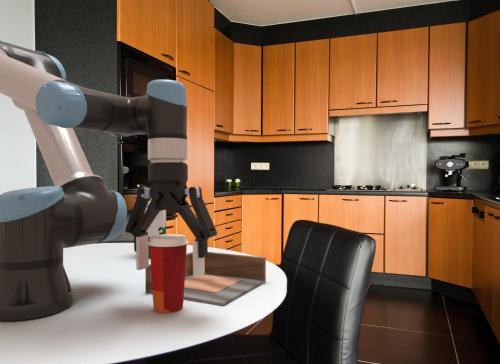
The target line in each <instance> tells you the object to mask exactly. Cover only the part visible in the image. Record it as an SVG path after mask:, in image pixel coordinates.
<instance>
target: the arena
mask: <svg viewBox="0 0 500 364" xmlns="http://www.w3.org/2000/svg"><path fill="white" fill-rule="evenodd" d="M266 259H267V258H266V257H264V256H253V255H243V254H242V255H241V254H235V253H233V254H232V253H223V252H213V251H208V255H207V257H204V260H205V274H202V275H200V276H197V277H194V276H193V251H191V252H186V268H185V284H184V300H185V301H186V300H187V301H192V302H198V303H202V304H203V303H205V304H208V305H209V304H210V305H214V306H215V305H216V306H220V307H221V306H222V307H225V306H226V305H228V304H230V303H231V302H233V301H235V300H237V299H239V298H241V297H242V296H244V295H245V294H248V293H249V292H251V291H253V290H255V289H257V288H258V287H260V286H262V285H264V284H265V283H266V281H267V279H266V277H267V276H266V275H267V273H266V270H267V269H266V268H267V267H266V265H267V262H266V261H267V260H266ZM145 293H146V294H150V295H151V294H152V295H153V293H152V277H151V263H150V264H149V267H148V268H145Z"/></svg>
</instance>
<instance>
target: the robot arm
mask: <svg viewBox="0 0 500 364" xmlns="http://www.w3.org/2000/svg"><path fill="white" fill-rule="evenodd" d="M0 94H2V95H3V96H6V97H8V98H10V99H11V100H12V104H13V106H15V107H16V108H18V109H20V110H22V111H24V115H25V117H26V118H27V122H28V124H29V126H30V128H31V132H32V134H33V136H34V138H35V141H36V144H37V146H38V148H39V151H40V153H41V156H42V159H43V161H44V162H45V165H46V167H47V170H48V172H49V174H50V175H49V176H50V177H51V181H52V182H53V185H54V186H52V185H50V186H38V187H37V186H36V187H28V188H20V189H14V190H9V191H5V192H2V193H1V194H0V321H2V322H6V321H7V322H12V321H14V322H15V321H25V320H33V319H39V318H42V317H47V316H51V315H55V314H56V313H60V312H62V311H65V310H67V309H68V308H70V307H71V306H72V305H73V303H74V291H73V288H72V286H71V283H70V280H69V278H68V275H67V272H66V268H65V266H64V249H69V248H74V247H80V246H87V245H93V244H102V243H104V242H108V241H111V240H113V239H115V238H117V237H119V235H120V234H121V233H122V231H123V229H124V227H125V229H124V230H125V232H126V233H127V234H131V235H132V236H133V250H134V251H133V252H135V253H136V255H135V256H136V270H137V271H141V270H146V268H148V267H149V260H150V258H149V253H148V244H147V243H148V236H147V235H146V234H147V233H146V231H147V230H148V228H149V227H150V225H151V224H152V222H153V221H154V219H155V218H156V216H157V215H158V213H159V212H160V211H161V210H166V211H170V212H172V211H175V213H177V214H179V215H180V218H182V220H183V221H184V222H185V224H186V226H187V227H188V229H189V230H190V232H191V234H192V235H193V236H194V238H195V239H194V240H192V252H193V276H194V277H197V276H200V275H202V274H205V260H204V257H207V255H208V252H209V250H208V249H209V245H208V244H209V243H208V242H209V241H208V240H209V239H210V238H212V237H216V236H217V234H218V231H217V228H216V226H215V224H214V222H213V219H212V217H211V215H210V212H209V210H208V208H207V206H206V204H205V200H204V199H203V191H202V187H200V186H190V187H188V185H187V183H188V180H189V166H188V164H187V163H186V162H185V161H187V160H188V135H187V133H188V131H187V130H188V107H189V105H188V99H187V89H186V86H185V85H184V83H182V82H180V81H178V80H173V79H154V80H151V81H150V82H148V83H147V87H146V91H145V95H141V96H135V97H127V96H123V95H119V94H114V93H110V92H105V91H101V90H100V91H99V90H95V89H92V88H88V87H83V86H81V85H78V84H76V83H74V82H71V81H68V80H67V75H66V71H65V69H64V67H63V64H62V62H60V61H59V59H57V58H56V57H55V56H52V55H50V54H48V53H45V52H44V51H40V50H33V49H30V48H26V47H22V46H20V45H16V44H12V43H10V42H6V41H3V40H0ZM74 129H77V130H87V131H95V132H100V133H106V134H108V135H109V136H112V137H124V138H127V137H129V136H137V135H146V134H147V160H148V161H150V163H149V164H148V166H147V169H148V171H147V175H148V182H149V183H150V187H148V186H141V187H140V186H139V187H137V189H136V200H135V201H134V205H133V207H132V210H131V213H130V215H129V217H128V209H127V203H126V200H125V199H124V197H123V195H122V194H121V193H120V192H117V191H116V190H114V189H110V190H109V189H108V188H107V185H106V183H105V180H104V179H103V177H102V176H99V175H97V174H94V172H93V171H92V168H91V166H90V163H89V162H88V159H87V157H86V154H85V152H84V150H83V149H82V146H81V144H80V142H79V139H78V136H77V134H76V132H75V130H74ZM150 197H151V202H150V203H149V205H148V202H149V198H150ZM187 198H189V201H190V203H189V202H188V200H187ZM147 205H148V206H147ZM146 207H147V210H146ZM145 210H146V212H145ZM193 211H194V212H193ZM127 217H128V218H129V219H128V220H127ZM126 220H127V223H126ZM125 224H126V226H125ZM143 235H145V236H143Z"/></svg>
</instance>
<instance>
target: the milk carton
mask: <svg viewBox="0 0 500 364" xmlns="http://www.w3.org/2000/svg"><path fill="white" fill-rule="evenodd" d="M151 200H152V198H151V197H150V198H149V202H148V205H149V203H150V202H151ZM148 205H147V206H148ZM146 210H147V207H146ZM146 210H145V212H146ZM146 233H147V234H146V235H147V236H148V243H149V242H150V240H149V239H151V237H152V236H155V235H163V234H167V210H161V211H160V212H159V213H158V215H157V216H156V218H155V219H154V221H153V222H152V224H151V225H150V227H149V228H148V230H147V231H146ZM143 236H145V235H143ZM148 253H149V259H150V245H148Z"/></svg>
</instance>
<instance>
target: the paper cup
mask: <svg viewBox="0 0 500 364" xmlns="http://www.w3.org/2000/svg"><path fill="white" fill-rule="evenodd" d="M187 239H188V238H187V236H186V235H184V234H180V233H179V234H176V233H175V234H174V233H170V234H169V233H168V234H167V233H166V234H163V235H155V236H152V237H151V239H149V240H150V242H149V243H147V244H148V245H150V258H149V260H150V264H151V277H152V293H153V294H152V302H153V304H152V305H153V310H154V312H157V313H159V314H160V313H161V314H171V313H173V314H174V313H176V312H179V311H181V310H183V307H184V300H185V299H184V284H185V268H186V254H187V252H188V251H187V247H188V244H189V241H188V240H187Z"/></svg>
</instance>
